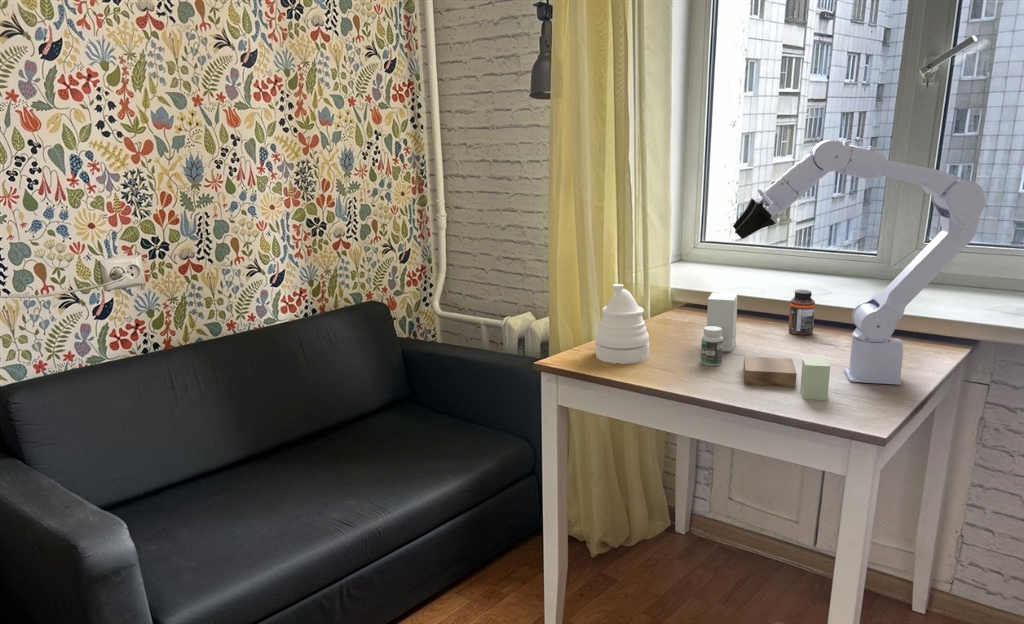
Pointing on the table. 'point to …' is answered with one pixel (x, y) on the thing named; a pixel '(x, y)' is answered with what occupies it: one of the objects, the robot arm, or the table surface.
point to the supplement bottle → (801, 313)
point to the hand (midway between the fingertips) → (737, 232)
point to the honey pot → (622, 330)
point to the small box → (723, 316)
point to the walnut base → (769, 371)
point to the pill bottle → (712, 346)
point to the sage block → (815, 378)
